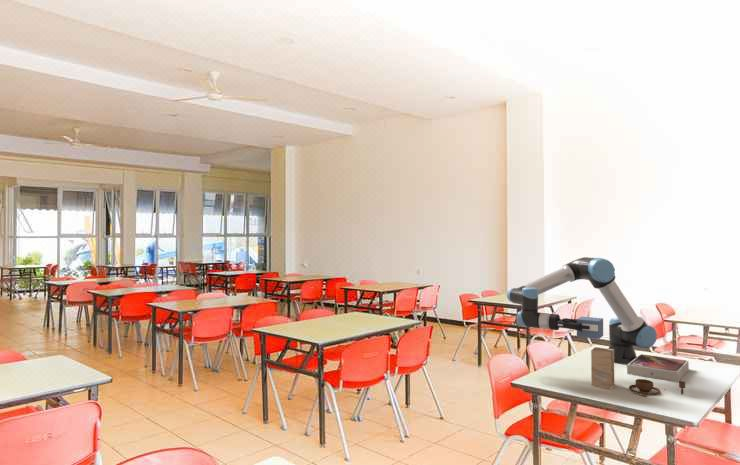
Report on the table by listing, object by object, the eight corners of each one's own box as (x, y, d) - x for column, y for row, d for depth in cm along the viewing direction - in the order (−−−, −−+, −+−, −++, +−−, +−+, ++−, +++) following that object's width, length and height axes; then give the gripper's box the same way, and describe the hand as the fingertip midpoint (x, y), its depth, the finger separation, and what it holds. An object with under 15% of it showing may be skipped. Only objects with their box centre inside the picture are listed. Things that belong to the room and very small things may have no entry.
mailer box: (595, 381, 234) (595, 347, 234) (614, 384, 229) (614, 349, 229) (591, 385, 227) (591, 350, 227) (610, 388, 223) (610, 352, 223)
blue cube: (581, 333, 236) (581, 316, 236) (603, 335, 231) (603, 318, 231) (576, 336, 229) (576, 319, 229) (598, 339, 223) (598, 321, 223)
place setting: (637, 385, 230) (637, 372, 230) (687, 395, 215) (687, 381, 215) (622, 393, 218) (622, 379, 218) (673, 404, 203) (673, 390, 203)
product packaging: (627, 374, 246) (627, 364, 246) (641, 363, 267) (641, 354, 267) (678, 383, 232) (678, 372, 232) (688, 370, 253) (688, 360, 253)
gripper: (556, 326, 249) (605, 331, 236) (543, 333, 232) (594, 338, 218) (556, 311, 249) (605, 315, 236) (542, 316, 232) (594, 321, 218)
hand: (600, 326), depth 227 cm, fingers closed on blue cube, 9 cm apart
